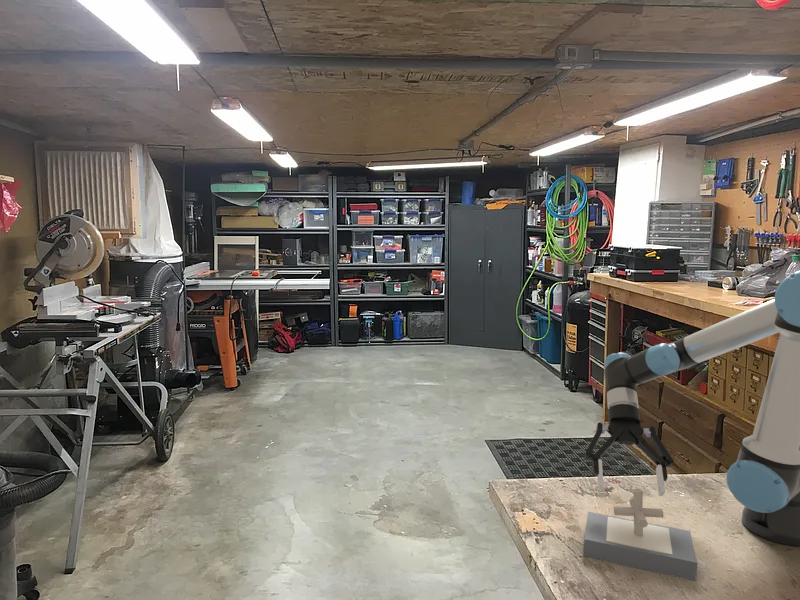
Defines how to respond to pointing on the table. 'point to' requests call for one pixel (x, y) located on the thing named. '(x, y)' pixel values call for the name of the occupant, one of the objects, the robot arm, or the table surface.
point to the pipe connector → (638, 512)
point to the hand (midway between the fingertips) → (631, 491)
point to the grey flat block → (640, 546)
